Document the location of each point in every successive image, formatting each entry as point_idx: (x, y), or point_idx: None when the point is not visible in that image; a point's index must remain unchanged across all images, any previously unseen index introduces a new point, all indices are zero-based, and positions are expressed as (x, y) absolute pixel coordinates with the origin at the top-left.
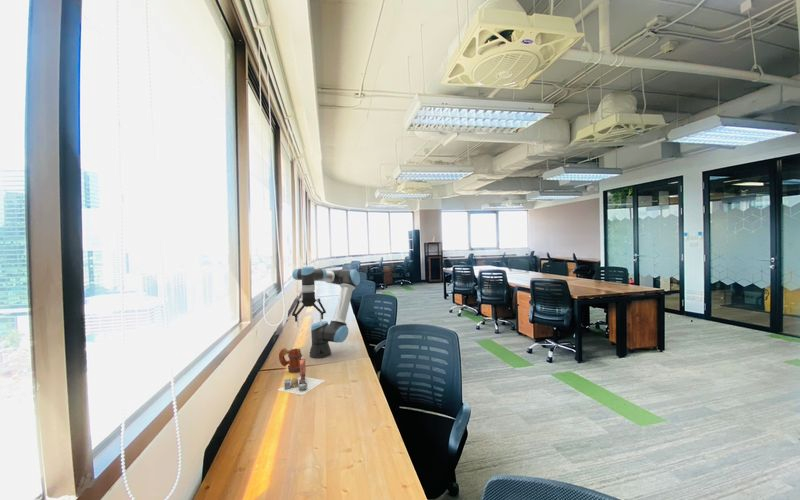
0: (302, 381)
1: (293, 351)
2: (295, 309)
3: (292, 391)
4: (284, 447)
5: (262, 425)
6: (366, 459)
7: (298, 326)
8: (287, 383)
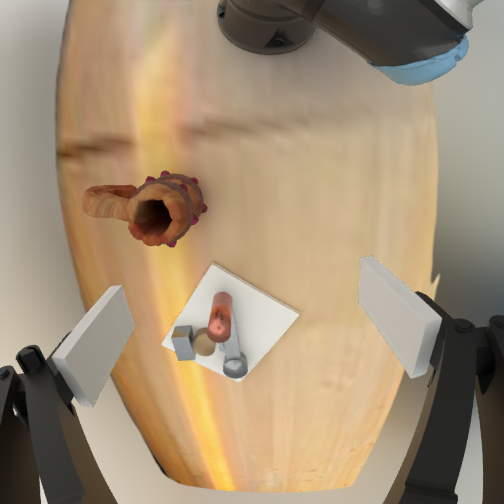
0: (230, 347)
1: (150, 244)
2: (28, 475)
3: (207, 362)
4: (237, 467)
5: (186, 436)
6: (327, 475)
7: (131, 332)
8: (187, 359)
